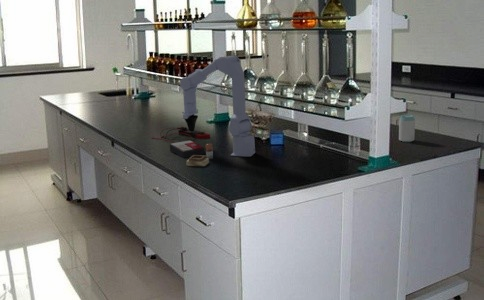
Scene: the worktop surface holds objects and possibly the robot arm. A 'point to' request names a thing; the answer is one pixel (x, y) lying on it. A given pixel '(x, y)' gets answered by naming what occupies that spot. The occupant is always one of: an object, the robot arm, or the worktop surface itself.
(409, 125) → the can
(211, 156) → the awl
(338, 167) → the worktop surface
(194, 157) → the tan rectangular frame
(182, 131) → the digital clamp meter
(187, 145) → the calculator
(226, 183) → the worktop surface
